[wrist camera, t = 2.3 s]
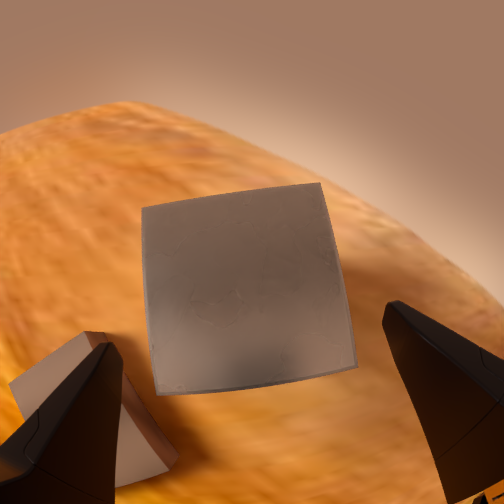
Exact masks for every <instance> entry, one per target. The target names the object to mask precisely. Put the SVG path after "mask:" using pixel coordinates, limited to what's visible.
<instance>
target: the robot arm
mask: <svg viewBox="0 0 504 504" xmlns="http://www.w3.org/2000/svg"><path fill="white" fill-rule="evenodd" d="M382 326H383V329H384V332H385V335H386V338H387V341H388V343H389V346H390V349H391V352H392V355H393V358H394V361H395V364H396V366H397V369H398V371H399V373H400V375H401V378H402V380H403V382H404V384H405V387H406V389H407V391H408V394H409V396H410V398H411V401H412V403H413V406H414V408H415V410H416V413H417V415H418V418H419V420H420V423H421V426H422V428H423V431H424V433H425V436H426V439H427V441H428V444H429V447H430V450H431V453H432V455H433V458H434V461H435V465H436V468H437V471H438V474H439V477H440V480H441V483H442V487H443V490H444V493H445V497H446V500H447V504H455V503H457V502H459V501H462V500H464V499H466V498H469V497H471V496H473V495H475V494H477V493H479V492H481V491H484V492H483V493H482V494H481V495H479V496H478V497H476V498H475V499H474V501H473V503H472V504H504V360H503V359H501V358H499V357H497V356H495V355H493V354H492V353H490V352H488V351H486V350H485V349H483V348H481V347H479V346H478V345H476V344H475V343H473V342H471V341H469V340H468V339H466V338H464V337H463V336H461V335H459V334H457V333H456V332H454V331H452V330H451V329H449V328H447V327H445V326H444V325H442V324H440V323H438V322H437V321H435V320H433V319H431V318H430V317H428V316H426V315H424V314H423V313H421V312H419V311H417V310H415V309H414V308H412V307H410V306H408V305H406V304H405V303H403V302H401V301H399V300H396V301H392V302H388V303H387V304H386V307H385V312H384V316H383V320H382ZM122 379H123V359H122V357H121V355H120V353H119V352H118V350H117V349H116V347H115V345H114V344H113V343H112V342H110V341H109V342H100V343H99V344H98V345H97V346H96V347H95V348H94V349H93V350H92V351H91V352H90V353H89V354H88V355H87V356H86V357H85V358H84V359H83V360H82V361H81V362H80V363H79V364H78V365H77V367H76V368H75V369H74V370H73V371H72V372H71V373H70V374H69V375H68V376H67V377H66V378H65V379H64V380H63V381H62V382H61V383H60V384H59V385H58V387H57V388H56V389H55V390H54V391H53V392H52V393H51V394H50V395H49V396H48V397H47V398H46V399H45V401H44V402H43V403H42V404H41V405H40V406H39V407H38V408H37V409H36V410H35V411H34V413H33V414H32V415H31V416H30V417H29V418H28V419H27V420H26V421H25V422H24V423H23V424H22V425H21V426H20V427H19V428H18V429H17V430H16V431H15V432H14V433H13V434H12V435H11V436H10V437H9V438H8V439H7V440H6V441H5V442H4V443H3V444H2V445H1V446H0V504H115V473H116V455H117V442H118V431H119V422H120V413H121V404H122Z"/></svg>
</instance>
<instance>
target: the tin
mask: <svg viewBox="0 0 504 504" xmlns="http://www.w3.org/2000/svg"><path fill="white" fill-rule="evenodd" d="M142 267H143V286H144V300H145V312H146V323H147V333H148V341H149V349H150V357H151V364H152V371H153V377H154V383H155V389H156V395H157V396H158V395H188V394H204V393H217V392H227V391H237V390H245V389H253V388H260V387H267V386H273V385H280V384H285V383H291V382H297V381H302V380H307V379H312V378H316V377H321V376H326V375H330V374H334V373H338V372H342V371H346V370H350V369H354V368H358V361H357V354H356V347H355V340H354V334H353V328H352V321H351V316H350V310H349V304H348V299H347V294H346V289H345V283H344V279H343V274H342V269H341V264H340V260H339V255H338V251H337V246H336V242H335V238H334V234H333V229H332V225H331V221H330V217H329V214H328V210H327V206H326V202H325V198H324V195H323V191H322V188H321V184H320V183H309V184H299V185H290V186H281V187H272V188H264V189H256V190H248V191H241V192H233V193H226V194H220V195H213V196H207V197H200V198H194V199H188V200H182V201H176V202H171V203H165V204H160V205H154V206H149V207H144V208H142Z"/></svg>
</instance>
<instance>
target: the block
mask: <svg viewBox="0 0 504 504" xmlns="http://www.w3.org/2000/svg"><path fill="white" fill-rule="evenodd" d="M100 342H108V340H107V338H106V336H105V334H104V332H91V331H83V332H82V333H80V334H79V335H78V336H76V337H75V338H73V339H72V340H70V341H69V342H67V343H66V344H64V345H63V346H61V347H60V348H59V349H57V350H56V351H54V352H53V353H51V354H50V355H48V356H47V357H46V358H44V359H43V360H41V361H40V362H38V363H37V364H36V365H34V366H33V367H31V368H30V369H29V370H27V371H26V372H24V373H23V374H22V375H20V376H19V377H17V378H16V379H15V380H13V381H12V382H10V383H9V386H10V389H11V391H12V394H13V396H14V398H15V400H16V403H17V405H18V407H19V409H20V411H21V413H22V416H23V418H24V420H25V421H26V420H27V419H28V418H29V417H30V416H31V415H32V414H33V413H34V411H35V410H36V409H37V408H38V407H39V406H40V405H41V404H42V403H43V402H44V401H45V399H46V398H47V397H48V396H49V395H50V394H51V393H52V392H53V391H54V390H55V389H56V388H57V387H58V385H59V384H60V383H61V382H62V381H63V380H64V379H65V378H66V377H67V376H68V375H69V374H70V373H71V372H72V371H73V370H74V369H75V368H76V367H77V365H78V364H79V363H80V362H81V361H82V360H83V359H84V358H85V357H86V356H87V355H88V354H89V353H90V352H91V351H92V350H93V349H94V348H95V347H96V346H97V345H98V344H99V343H100ZM179 456H180V455H179V454H178V452H177V451H176V450H175V448H174V447H173V446H172V444H171V443H170V442H169V440H168V439H167V438H166V436H165V435H164V434H163V432H162V431H161V429H160V428H159V427H158V425H157V424H156V422H155V421H154V419H153V418H152V416H151V415H150V413H149V412H148V410H147V409H146V407H145V406H144V404H143V403H142V401H141V399H140V398H139V396H138V395H137V393H136V391H135V390H134V388H133V386H132V385H131V383H130V381H129V379H128V378H127V376H126V374H125V372H124V371H123V379H122V404H121V413H120V422H119V431H118V442H117V455H116V473H115V488H117V487H120V486H124V485H128V484H131V483H134V482H138V481H141V480H144V479H147V478H150V477H153V476H156V475H159V474H162V473H164V472H167V471H170V469H171V468H172V466H173V465H174V463H175V462H176V460H177V459H178V457H179Z"/></svg>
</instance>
